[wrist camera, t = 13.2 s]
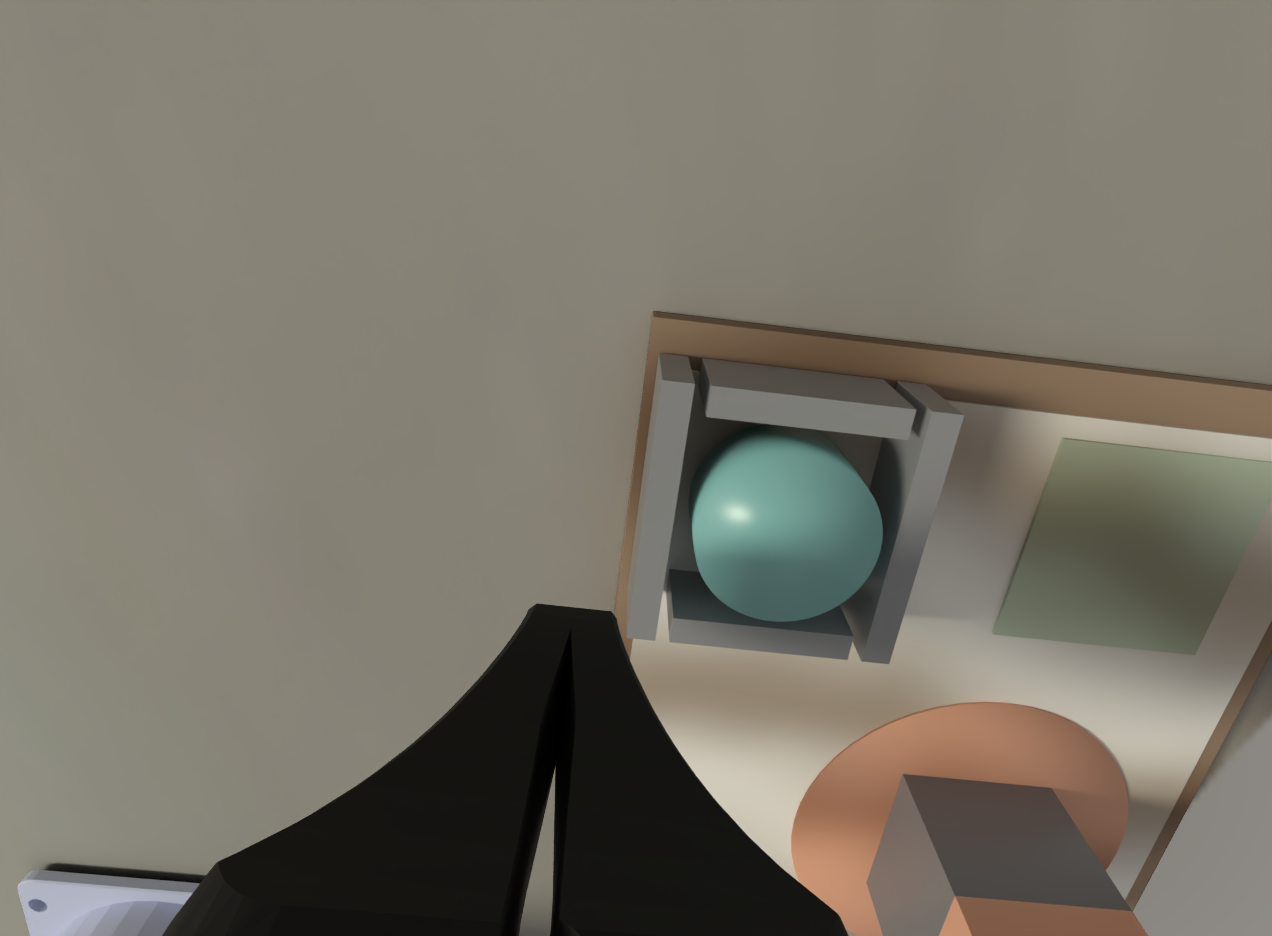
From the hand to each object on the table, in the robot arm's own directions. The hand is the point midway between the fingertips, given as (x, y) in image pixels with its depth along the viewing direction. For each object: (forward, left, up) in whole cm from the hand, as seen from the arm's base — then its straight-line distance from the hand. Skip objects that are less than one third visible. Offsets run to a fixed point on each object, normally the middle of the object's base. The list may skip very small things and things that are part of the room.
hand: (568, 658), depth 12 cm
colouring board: (-5, -9, -6) cm, 12 cm away
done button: (+1, -4, -4) cm, 6 cm away
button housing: (+1, -4, -5) cm, 6 cm away
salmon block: (-8, -11, -5) cm, 14 cm away
